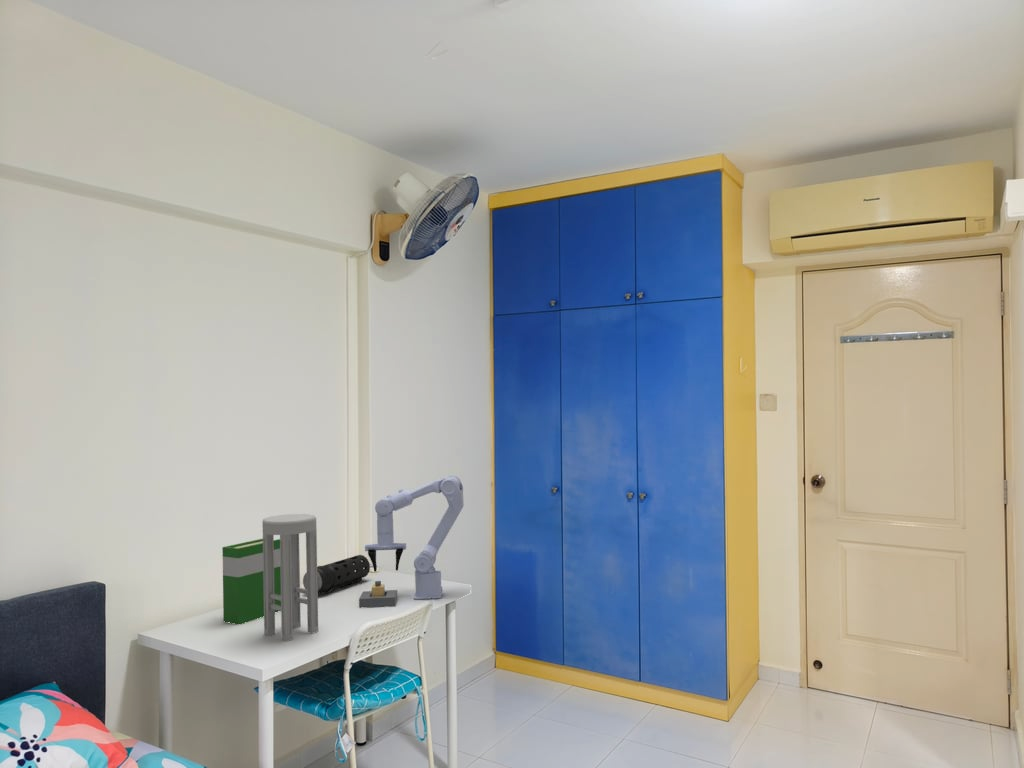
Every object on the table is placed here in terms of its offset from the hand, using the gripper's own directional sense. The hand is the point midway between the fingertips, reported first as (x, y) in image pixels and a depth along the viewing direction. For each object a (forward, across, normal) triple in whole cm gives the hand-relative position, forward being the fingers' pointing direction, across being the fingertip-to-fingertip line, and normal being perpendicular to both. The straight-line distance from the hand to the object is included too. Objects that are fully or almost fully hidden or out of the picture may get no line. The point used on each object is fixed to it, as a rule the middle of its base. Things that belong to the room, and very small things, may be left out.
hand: (386, 570), depth 263 cm
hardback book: (+10, -42, -17) cm, 46 cm away
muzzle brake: (+10, -20, +16) cm, 27 cm away
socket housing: (+9, -2, -8) cm, 13 cm away
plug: (+10, -2, -8) cm, 13 cm away
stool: (+10, -25, -38) cm, 46 cm away
